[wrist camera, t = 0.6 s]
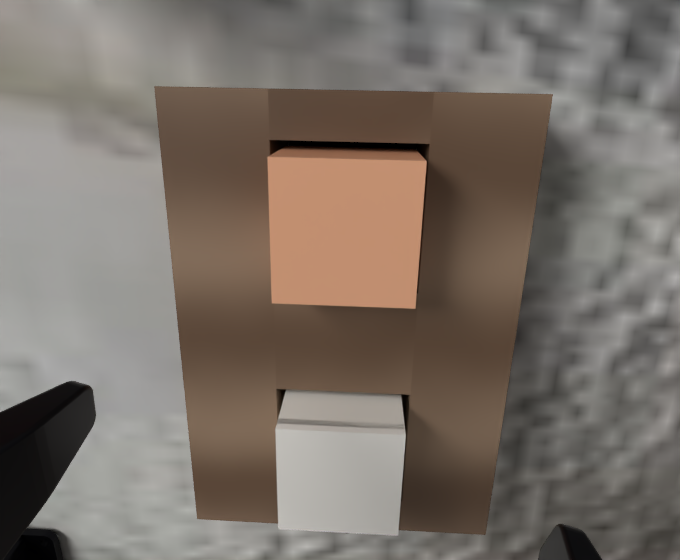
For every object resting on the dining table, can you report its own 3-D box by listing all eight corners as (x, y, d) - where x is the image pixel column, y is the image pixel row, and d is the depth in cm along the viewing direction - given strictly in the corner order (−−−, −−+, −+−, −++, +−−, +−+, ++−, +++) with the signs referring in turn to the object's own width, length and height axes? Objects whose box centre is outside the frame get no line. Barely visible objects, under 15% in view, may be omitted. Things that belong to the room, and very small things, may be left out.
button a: (393, 469, 22) (398, 535, 18) (291, 464, 22) (278, 529, 19) (399, 380, 20) (405, 435, 17) (289, 375, 20) (275, 428, 17)
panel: (467, 467, 24) (485, 534, 21) (222, 455, 25) (197, 519, 21) (515, 94, 19) (552, 94, 15) (195, 88, 19) (154, 86, 15)
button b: (406, 271, 19) (415, 308, 15) (288, 267, 19) (271, 303, 16) (415, 148, 17) (426, 161, 14) (286, 145, 17) (267, 156, 14)
